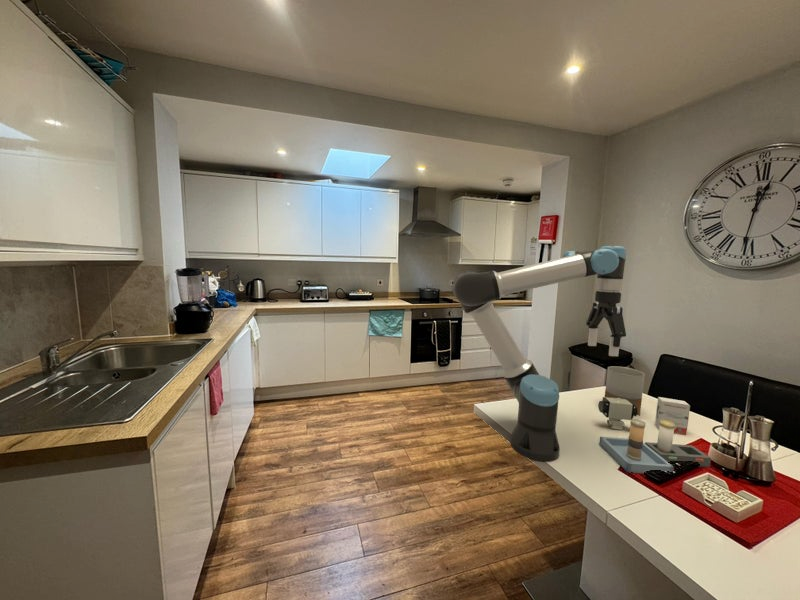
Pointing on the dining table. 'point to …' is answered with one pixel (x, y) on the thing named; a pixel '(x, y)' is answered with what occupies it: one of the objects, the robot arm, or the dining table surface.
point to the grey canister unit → (625, 385)
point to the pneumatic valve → (617, 411)
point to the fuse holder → (682, 454)
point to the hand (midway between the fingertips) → (602, 350)
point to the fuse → (665, 436)
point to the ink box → (673, 413)
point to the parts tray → (647, 462)
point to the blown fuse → (635, 439)
